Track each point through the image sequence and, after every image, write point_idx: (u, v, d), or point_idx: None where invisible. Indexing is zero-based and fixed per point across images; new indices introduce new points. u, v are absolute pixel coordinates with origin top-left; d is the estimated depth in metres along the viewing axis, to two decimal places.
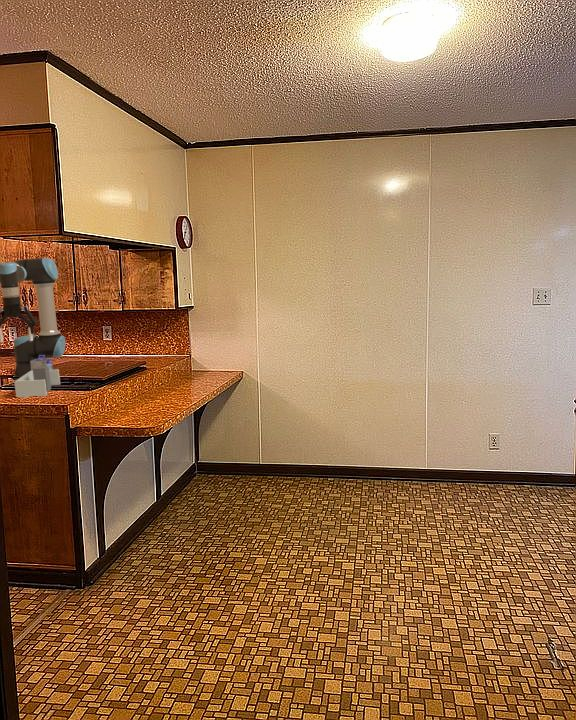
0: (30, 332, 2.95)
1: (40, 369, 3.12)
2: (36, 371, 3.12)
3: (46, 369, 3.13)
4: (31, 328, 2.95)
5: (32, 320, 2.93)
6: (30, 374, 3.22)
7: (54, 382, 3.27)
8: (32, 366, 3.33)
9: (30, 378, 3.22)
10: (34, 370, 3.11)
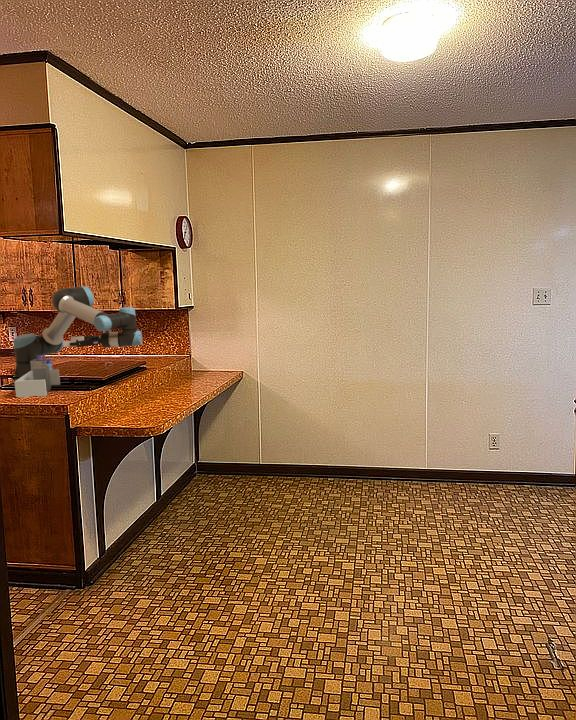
0: None
1: (40, 369, 3.12)
2: (36, 371, 3.12)
3: (46, 369, 3.13)
4: None
5: None
6: (30, 374, 3.22)
7: (54, 382, 3.27)
8: (32, 366, 3.33)
9: (30, 378, 3.22)
10: (34, 370, 3.11)
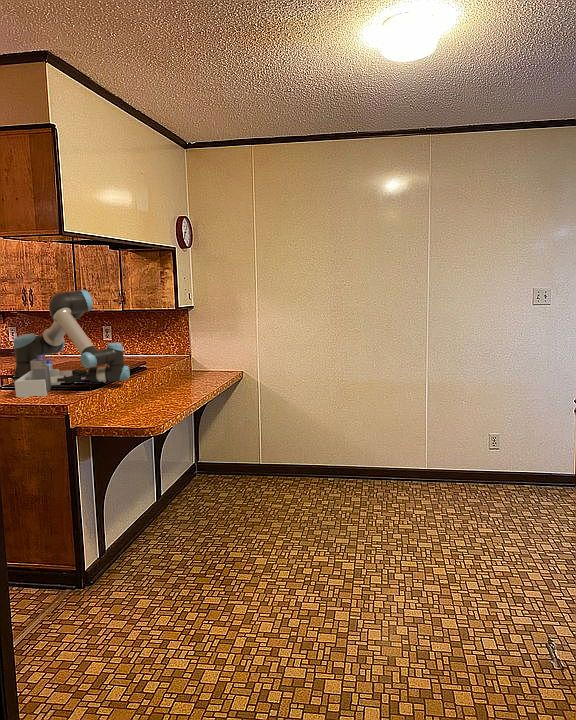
0: None
1: (40, 369, 3.12)
2: (36, 371, 3.12)
3: (46, 369, 3.13)
4: None
5: None
6: (30, 374, 3.22)
7: None
8: (32, 366, 3.33)
9: (30, 378, 3.22)
10: (34, 370, 3.11)
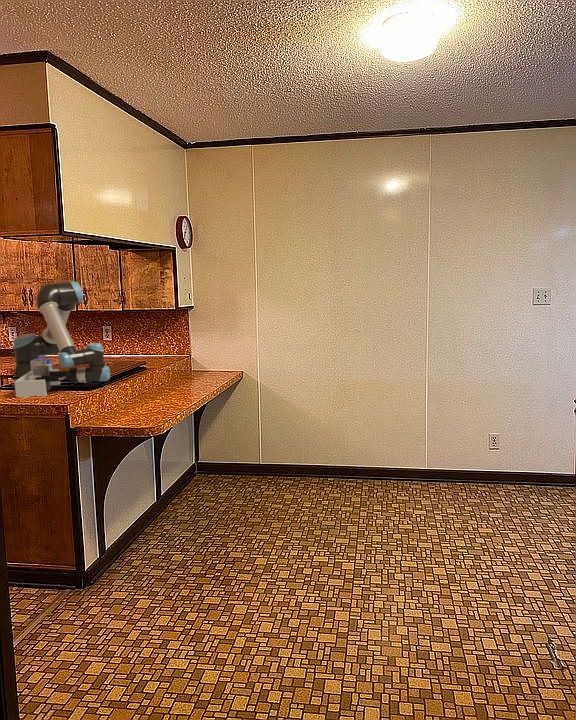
0: None
1: (40, 369, 3.12)
2: (36, 371, 3.12)
3: (46, 369, 3.13)
4: None
5: None
6: (30, 374, 3.22)
7: (54, 382, 3.27)
8: (32, 366, 3.33)
9: None
10: (34, 370, 3.11)
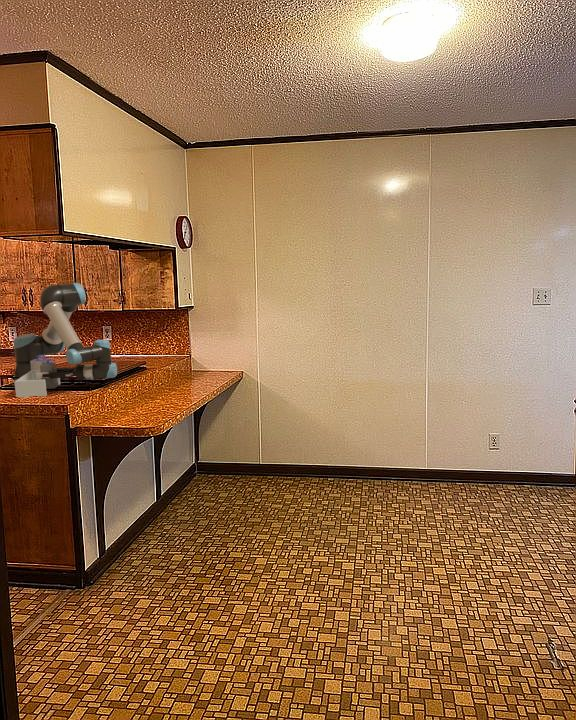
0: None
1: (47, 366, 3.11)
2: (43, 368, 3.11)
3: (53, 366, 3.13)
4: None
5: None
6: (30, 374, 3.22)
7: None
8: (32, 366, 3.33)
9: (30, 378, 3.22)
10: (41, 367, 3.11)
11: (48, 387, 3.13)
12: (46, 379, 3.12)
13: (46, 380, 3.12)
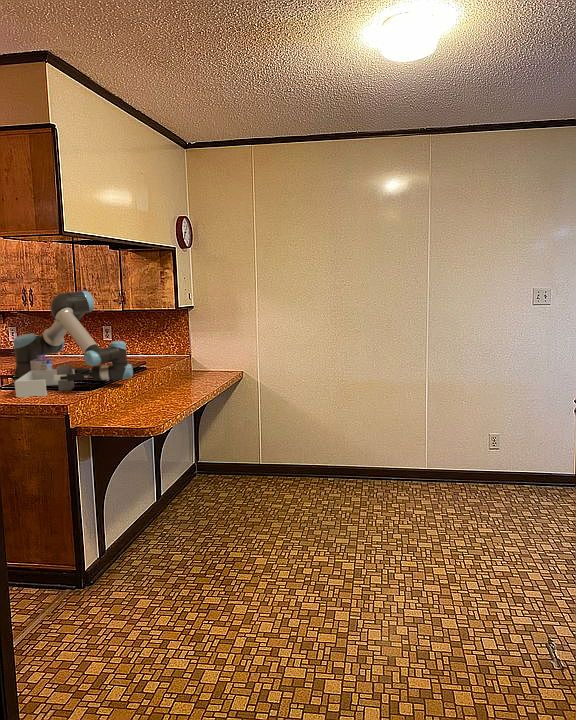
0: None
1: (64, 368, 3.12)
2: (60, 370, 3.12)
3: (69, 368, 3.14)
4: None
5: None
6: (30, 374, 3.22)
7: (54, 382, 3.27)
8: (32, 366, 3.33)
9: (30, 378, 3.22)
10: (58, 369, 3.12)
11: (64, 389, 3.14)
12: (62, 381, 3.14)
13: (62, 382, 3.14)
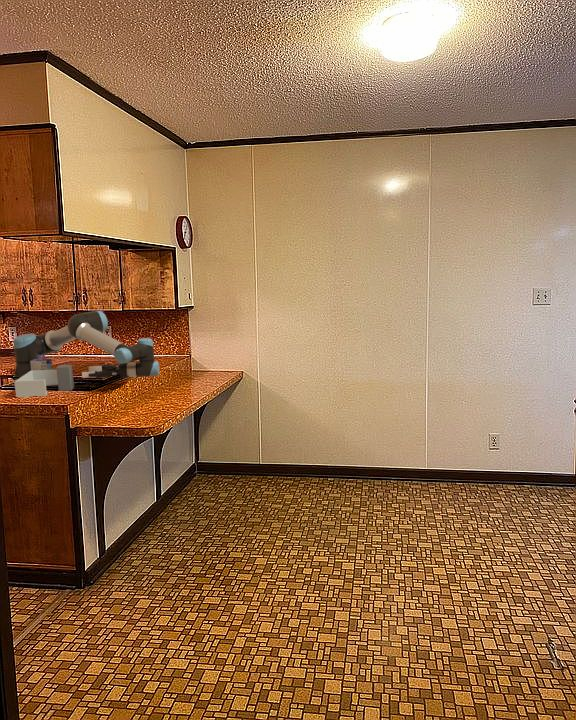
0: None
1: (64, 368, 3.12)
2: (60, 370, 3.12)
3: (69, 368, 3.14)
4: None
5: None
6: (30, 374, 3.22)
7: (54, 382, 3.27)
8: (32, 366, 3.33)
9: (30, 378, 3.22)
10: (58, 369, 3.12)
11: (64, 389, 3.14)
12: (62, 381, 3.14)
13: (62, 382, 3.14)
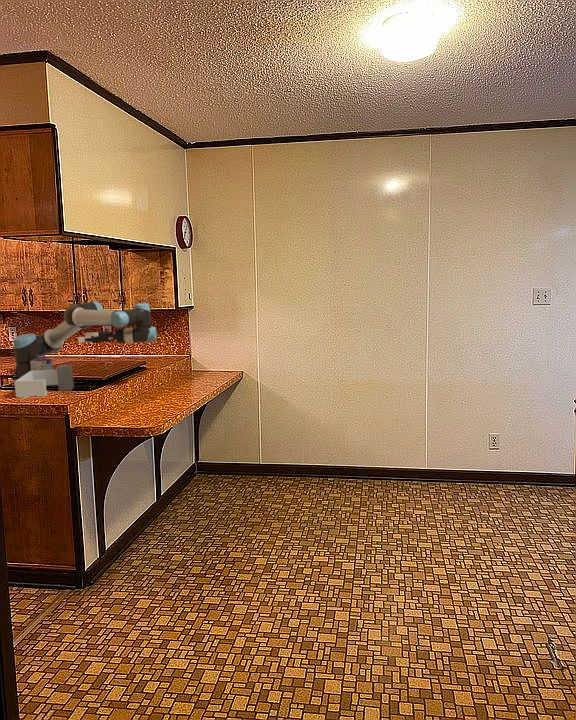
0: None
1: (64, 368, 3.12)
2: (60, 370, 3.12)
3: (69, 368, 3.14)
4: None
5: None
6: (30, 374, 3.22)
7: (54, 382, 3.27)
8: (32, 366, 3.33)
9: (30, 378, 3.22)
10: (58, 369, 3.12)
11: (64, 389, 3.14)
12: (62, 381, 3.14)
13: (62, 382, 3.14)
